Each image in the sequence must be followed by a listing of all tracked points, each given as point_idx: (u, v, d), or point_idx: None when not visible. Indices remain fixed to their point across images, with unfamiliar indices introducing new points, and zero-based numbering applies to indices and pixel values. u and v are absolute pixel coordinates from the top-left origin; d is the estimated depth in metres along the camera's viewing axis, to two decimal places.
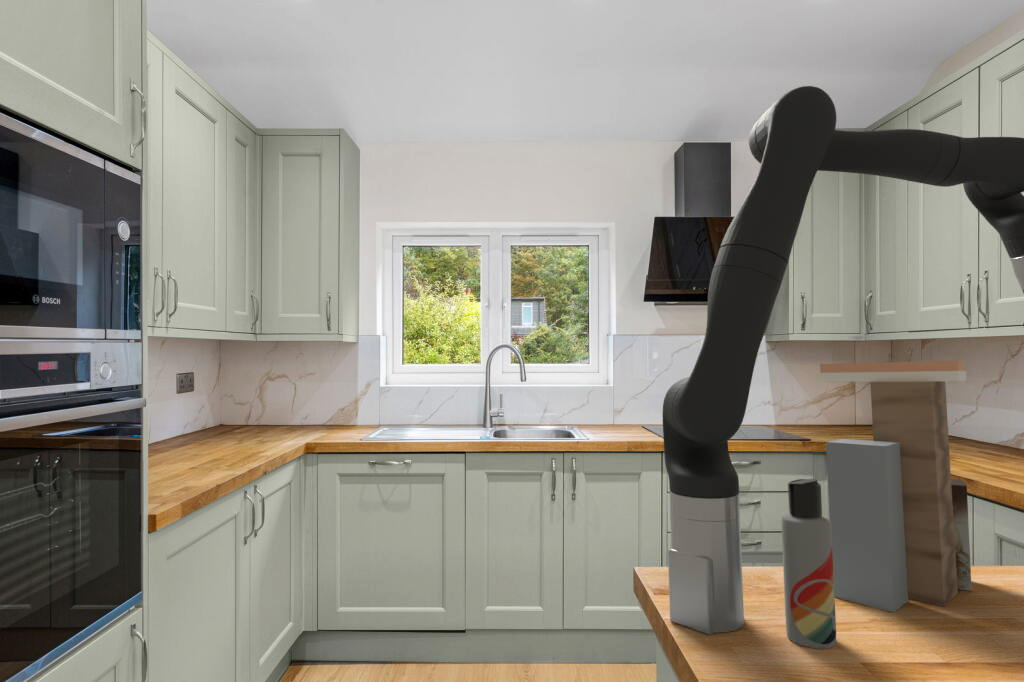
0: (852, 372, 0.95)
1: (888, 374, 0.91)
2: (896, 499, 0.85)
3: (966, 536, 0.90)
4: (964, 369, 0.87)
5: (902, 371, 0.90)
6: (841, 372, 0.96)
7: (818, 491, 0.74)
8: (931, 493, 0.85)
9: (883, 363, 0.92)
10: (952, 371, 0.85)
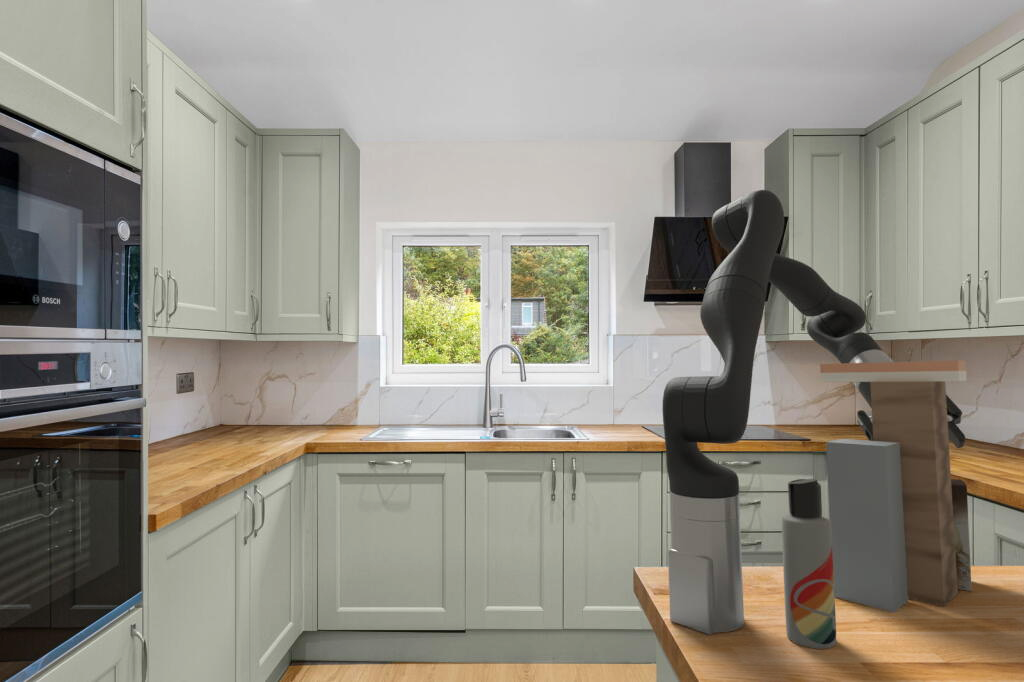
0: (852, 372, 0.95)
1: (888, 374, 0.91)
2: (896, 499, 0.85)
3: (966, 536, 0.90)
4: (964, 369, 0.87)
5: (902, 371, 0.90)
6: (841, 372, 0.96)
7: (818, 491, 0.74)
8: (931, 493, 0.85)
9: (883, 363, 0.92)
10: (952, 371, 0.85)
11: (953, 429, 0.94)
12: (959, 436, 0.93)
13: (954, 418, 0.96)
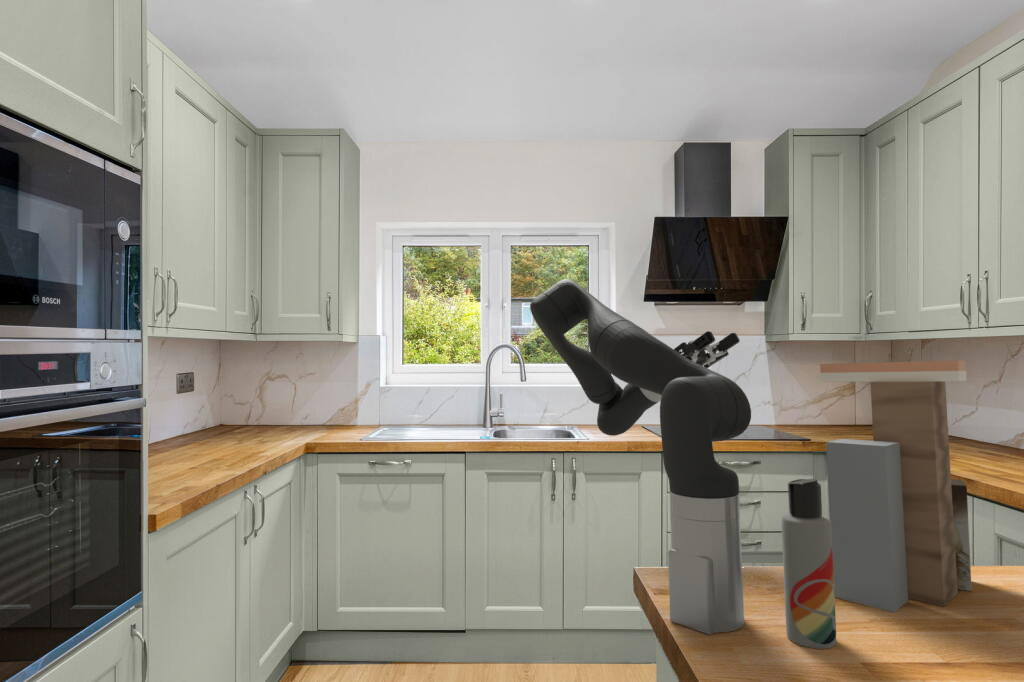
0: (852, 372, 0.95)
1: (888, 374, 0.91)
2: (896, 499, 0.85)
3: (966, 536, 0.90)
4: (964, 369, 0.87)
5: (902, 371, 0.90)
6: (841, 372, 0.96)
7: (818, 491, 0.74)
8: (931, 493, 0.85)
9: (883, 363, 0.92)
10: (952, 371, 0.85)
11: (725, 338, 1.18)
12: (731, 334, 1.17)
13: None
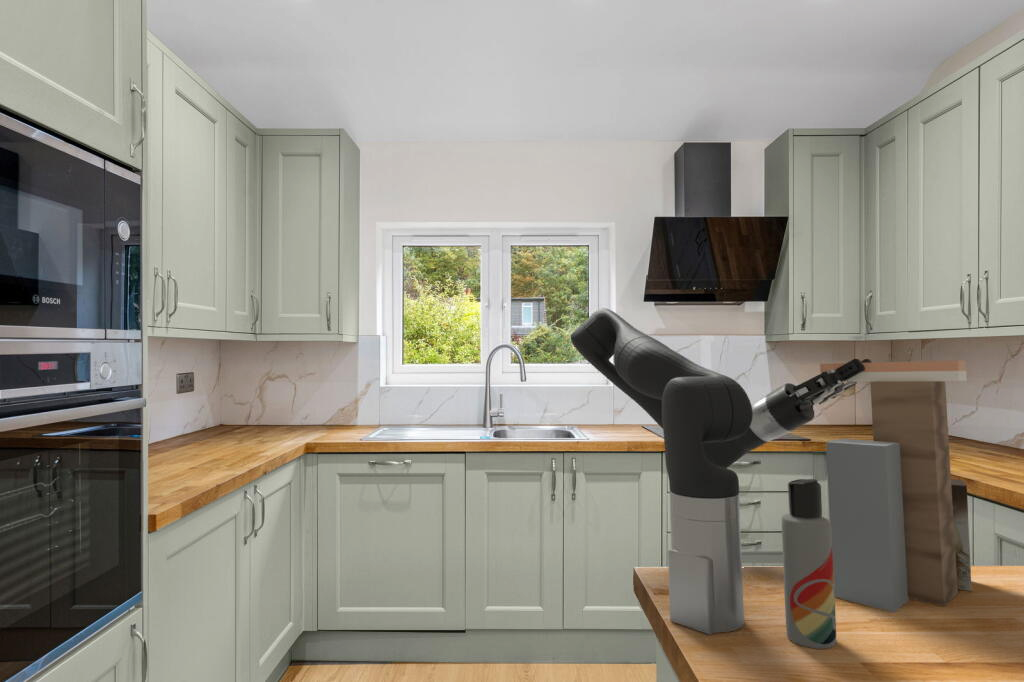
0: None
1: (888, 374, 0.91)
2: (896, 499, 0.85)
3: (966, 536, 0.90)
4: (964, 369, 0.87)
5: (902, 371, 0.90)
6: None
7: (818, 491, 0.74)
8: (931, 493, 0.85)
9: (883, 363, 0.92)
10: (952, 371, 0.85)
11: None
12: (863, 360, 0.98)
13: None
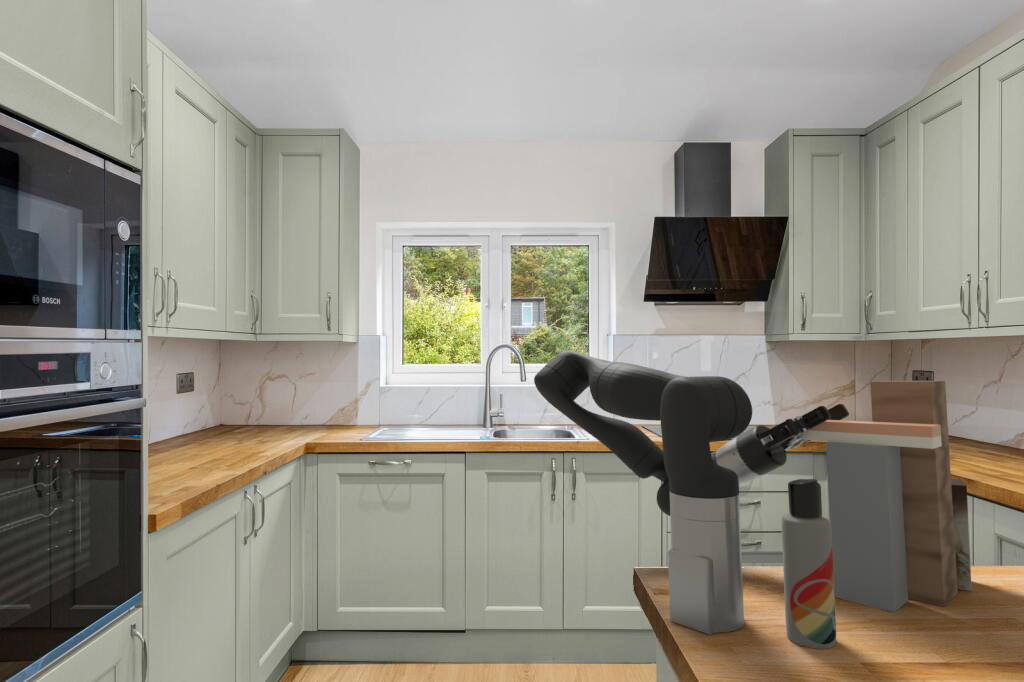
0: (824, 431, 0.91)
1: (860, 436, 0.87)
2: (896, 499, 0.85)
3: (966, 536, 0.90)
4: (939, 434, 0.82)
5: (875, 434, 0.85)
6: (812, 430, 0.92)
7: (818, 491, 0.74)
8: (931, 493, 0.85)
9: (855, 424, 0.87)
10: (926, 437, 0.81)
11: None
12: (837, 405, 0.95)
13: None
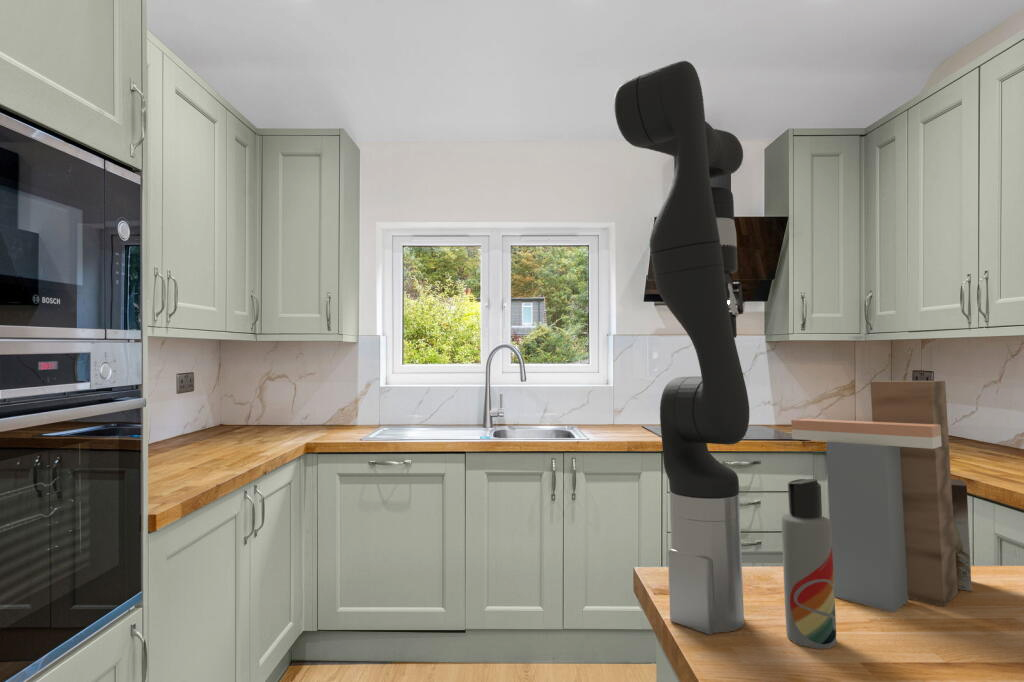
0: (824, 431, 0.91)
1: (860, 436, 0.87)
2: (896, 499, 0.85)
3: (966, 536, 0.90)
4: (939, 434, 0.82)
5: (875, 434, 0.85)
6: (812, 430, 0.92)
7: (818, 491, 0.74)
8: (931, 493, 0.85)
9: (855, 424, 0.87)
10: (926, 437, 0.81)
11: (735, 325, 1.07)
12: (735, 333, 1.07)
13: None
